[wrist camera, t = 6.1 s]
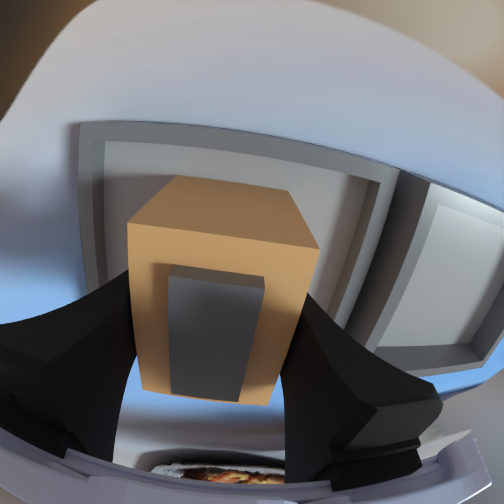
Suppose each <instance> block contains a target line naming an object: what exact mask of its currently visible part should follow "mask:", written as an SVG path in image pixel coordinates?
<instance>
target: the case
mask: <svg viewBox="0 0 504 504" xmlns="http://www.w3.org/2000/svg"><path fill="white" fill-rule="evenodd" d="M397 169H399V170H400V172H399V176H398V180H397V183H396V187H395V191H394V194H393V198H392V201H391V204H390V208H389V211H388V214H387V217H386V221H385V224H384V227H383V230H382V233H381V236H380V239H379V242H378V245H377V248H376V250H375V253H374V256H373V259H372V262H371V264H370V267H369V270H368V272H367V275H366V277H365V280H364V283H363V285H362V288H361V290H360V293H359V295H358V298H357V300H356V302H355V305H354V307H353V310H352V312H351V314H350V317H349V319H348V321H347V323H346V326H345V328H344V331H345V332H346V333H347V334H348V335H350V336H351V337H352V338H353V339H355V340H356V341H357V342H358V343H360V344H361V345H362V346H363V347H365V348H366V349H368V350H369V351H370V352H372V353H373V354H375V355H376V356H378V357H380V358H381V359H383V360H384V361H386V362H388V363H389V364H391V365H393V366H395V367H397V368H399V369H400V370H402V371H404V372H406V373H408V374H411V375H413V376H415V377H424V376H432V375H439V374H446V373H452V372H459V371H464V370H470V369H475V368H480V367H483V365H484V364H485V363H486V361H487V360H488V359H489V357H490V356H491V354H492V353H493V351H494V350H495V348H496V347H497V345H498V344H499V342H500V341H501V339H502V338H503V336H504V210H503V209H501V208H498V207H496V206H494V205H492V204H490V203H488V202H486V201H483V200H481V199H479V198H477V197H474V196H472V195H470V194H467V193H465V192H463V191H460V190H458V189H455V188H453V187H450V186H448V185H445V184H443V183H440V182H437V181H435V180H432V179H429V178H427V177H424V176H421V175H418V174H415V173H412V172H409V171H406V170H403V169H400V168H397Z"/></svg>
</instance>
